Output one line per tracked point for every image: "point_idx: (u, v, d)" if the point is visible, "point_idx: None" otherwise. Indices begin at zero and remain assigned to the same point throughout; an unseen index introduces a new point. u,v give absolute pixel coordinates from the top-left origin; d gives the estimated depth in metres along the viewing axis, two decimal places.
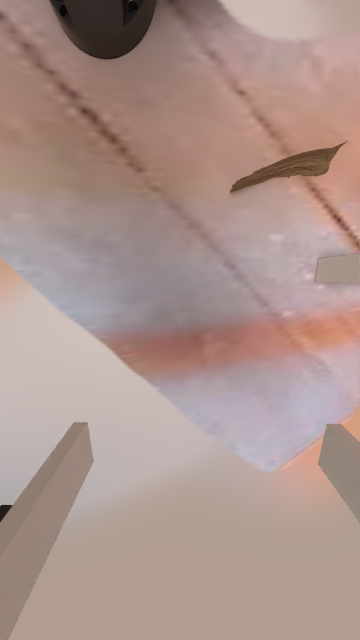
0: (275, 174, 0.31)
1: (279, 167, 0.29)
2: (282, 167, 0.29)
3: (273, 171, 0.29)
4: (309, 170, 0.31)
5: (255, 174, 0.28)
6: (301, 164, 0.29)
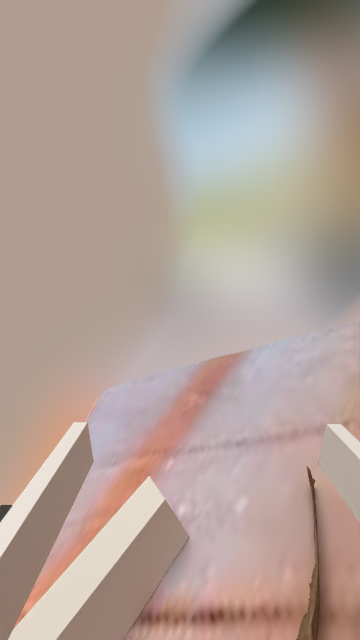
0: None
1: (315, 544, 0.21)
2: (316, 550, 0.21)
3: (315, 538, 0.22)
4: (308, 630, 0.18)
5: (312, 496, 0.24)
6: (315, 596, 0.19)
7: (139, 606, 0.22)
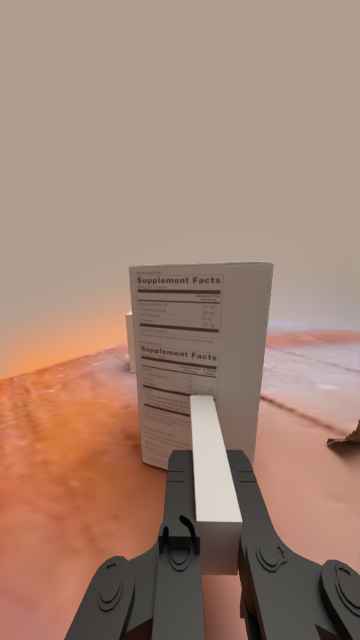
0: None
1: None
2: None
3: None
4: None
5: None
6: None
7: None
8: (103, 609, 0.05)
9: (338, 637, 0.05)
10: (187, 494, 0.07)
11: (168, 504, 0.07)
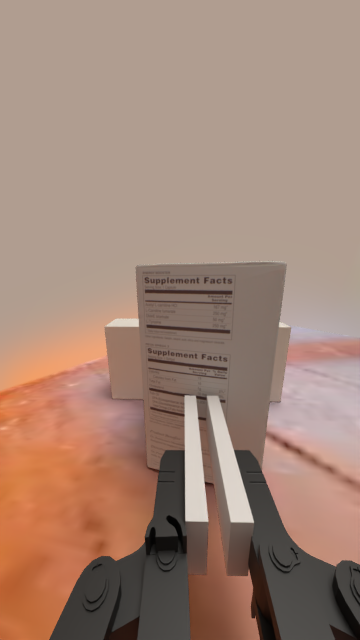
0: None
1: None
2: None
3: None
4: None
5: None
6: None
7: None
8: (88, 609, 0.05)
9: (354, 638, 0.04)
10: (178, 494, 0.07)
11: (158, 504, 0.07)
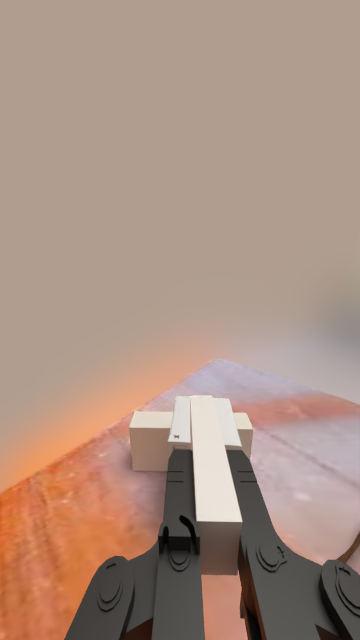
0: (344, 561, 0.24)
1: None
2: None
3: (351, 548, 0.24)
4: None
5: None
6: None
7: None
8: (103, 609, 0.05)
9: (338, 638, 0.04)
10: (187, 494, 0.07)
11: (168, 504, 0.07)
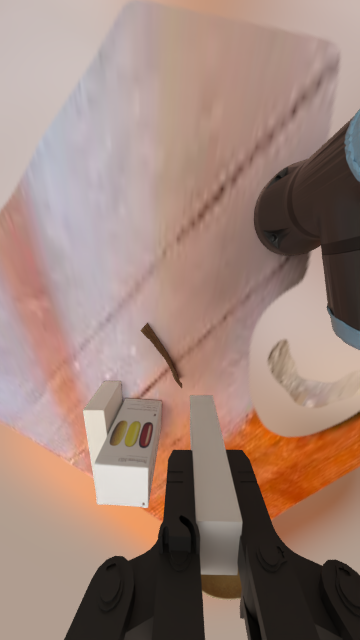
0: (164, 350, 0.43)
1: (163, 352, 0.41)
2: (164, 354, 0.41)
3: (161, 349, 0.41)
4: None
5: (151, 339, 0.39)
6: (171, 365, 0.42)
7: None
8: (103, 609, 0.05)
9: (338, 637, 0.05)
10: (187, 495, 0.07)
11: (168, 504, 0.07)
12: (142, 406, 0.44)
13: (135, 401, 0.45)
